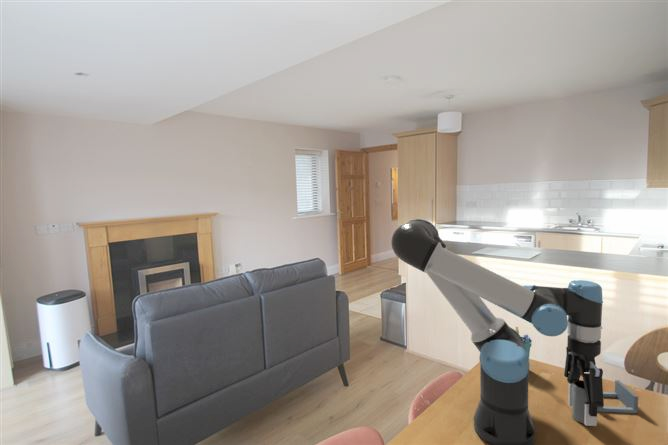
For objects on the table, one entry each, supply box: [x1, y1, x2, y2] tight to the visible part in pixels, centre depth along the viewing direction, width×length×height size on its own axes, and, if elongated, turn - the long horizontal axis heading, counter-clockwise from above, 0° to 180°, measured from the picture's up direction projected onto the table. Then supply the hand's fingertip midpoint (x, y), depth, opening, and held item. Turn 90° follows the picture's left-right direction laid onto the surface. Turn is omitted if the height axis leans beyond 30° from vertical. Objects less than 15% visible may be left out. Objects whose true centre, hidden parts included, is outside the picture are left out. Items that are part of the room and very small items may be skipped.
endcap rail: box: [597, 379, 639, 414], centre depth 106 cm, size 11×8×5 cm
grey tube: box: [571, 379, 587, 424], centre depth 99 cm, size 4×4×10 cm
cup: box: [515, 326, 533, 360], centre depth 126 cm, size 14×8×15 cm, turn 176°
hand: (581, 414), depth 100 cm, fingers open, 8 cm apart
